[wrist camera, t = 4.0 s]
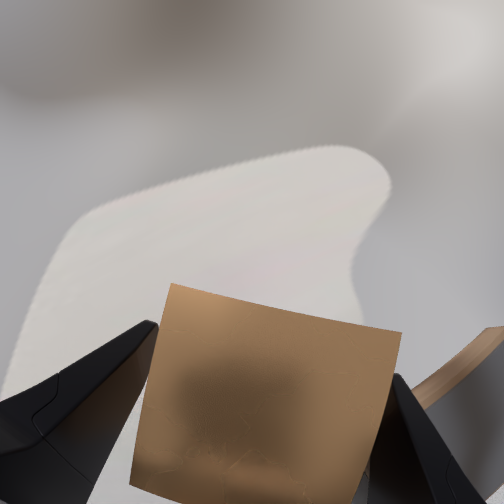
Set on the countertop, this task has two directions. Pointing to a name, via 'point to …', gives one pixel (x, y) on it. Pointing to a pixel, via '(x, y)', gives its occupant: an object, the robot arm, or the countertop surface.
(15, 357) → the countertop surface
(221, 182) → the countertop surface
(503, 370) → the walnut stand
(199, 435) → the tan and grey block
